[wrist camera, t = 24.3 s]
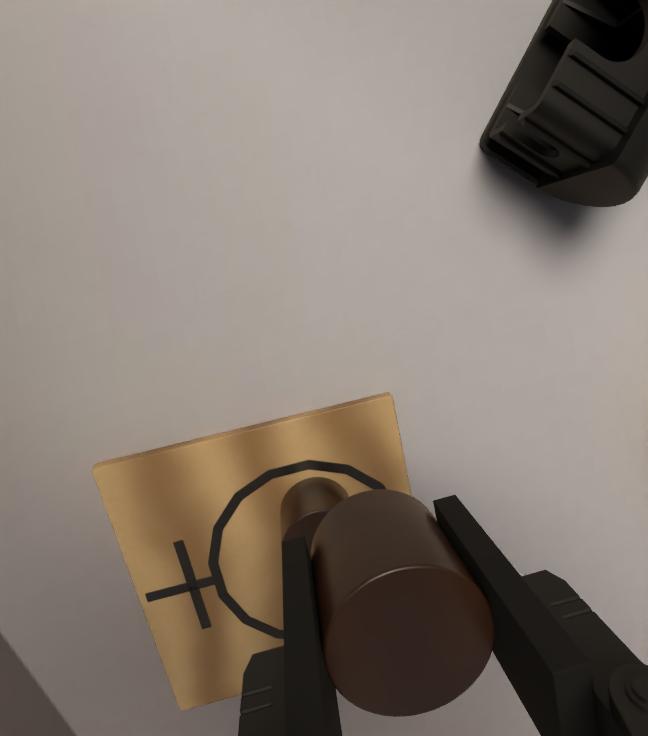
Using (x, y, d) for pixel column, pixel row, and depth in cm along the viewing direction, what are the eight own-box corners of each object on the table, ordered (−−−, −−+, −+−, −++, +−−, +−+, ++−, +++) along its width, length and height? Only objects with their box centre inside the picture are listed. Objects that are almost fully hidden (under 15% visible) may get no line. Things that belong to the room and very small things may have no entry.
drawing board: (182, 700, 31) (180, 713, 30) (95, 463, 27) (89, 469, 26) (434, 630, 32) (439, 640, 31) (388, 391, 28) (392, 395, 27)
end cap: (569, 216, 27) (667, 198, 20) (470, 155, 25) (541, 114, 19) (663, 50, 25) (801, -27, 19) (564, -24, 24) (676, -136, 17)
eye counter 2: (289, 548, 28) (291, 592, 24) (272, 486, 27) (272, 522, 23) (357, 530, 29) (370, 572, 25) (343, 468, 28) (354, 501, 24)
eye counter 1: (327, 621, 15) (344, 738, 12) (296, 508, 14) (304, 594, 11) (449, 586, 16) (507, 690, 12) (427, 473, 15) (482, 545, 11)
